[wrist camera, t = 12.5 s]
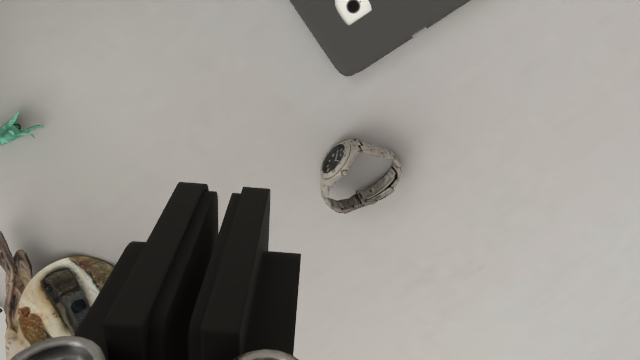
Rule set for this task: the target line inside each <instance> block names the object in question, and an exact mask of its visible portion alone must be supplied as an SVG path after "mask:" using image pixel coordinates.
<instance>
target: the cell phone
mask: <svg viewBox="0 0 640 360" xmlns="http://www.w3.org/2000/svg"><path fill="white" fill-rule="evenodd" d="M468 1H470V0H290V2H291V3H292V4H293V6H294V7H295V9H296V10H297V12H298V13H299V15H300V16H301V18H302V19H303V21H304V22H305V24H306V25H307V27H308V28H309V30H310V31H311V33H312V34H313V35H314V37H315V38H316V40H317V41H318V43H319V44H320V46H321V47H322V49H323V50H324V52H325V53H326V55H327V56H328V58H329V59H330V61H331V62H332V64H333V65H334V66H335V68H336V69H337V70H338V71H339V72H340V73H341V74H343V75H344V76H352V75H354V74H356V73H358V72H360V71H362V70H364V69H365V68H367V67H368V66H370V65H371V64H373V63H374V62H376V61H377V60H379V59H380V58H382V57H384V56H385V55H387V54H388V53H390V52H391V51H393V50H394V49H396V48H397V47H399V46H401V45H402V44H404V43H405V42H407V41H408V40H410V39H411V38H413V37H412V36H413V35H414V34H416V33H417V32H419V31H420V30H422V29H423V28H425V27H427V28H428V27H430V26H431V25H433V24H434V23H436V22H438V21H439V20H441V19H442V18H444V17H445V16H447V15H448V14H450V13H451V12H453V11H455V10H456V9H458V8H459V7H461V6H462V5H464V4H465V3H467V2H468Z"/></svg>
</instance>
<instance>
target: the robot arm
mask: <svg viewBox="0 0 640 360" xmlns="http://www.w3.org/2000/svg"><path fill="white" fill-rule="evenodd" d="M269 215H270V189H264V188H251V187H243V189H242V192H241V194H239V193H232V195H231V198H230V201H229V204H228V207H227V210H226V214H225V217H224V220H223V223H222V226H221V229H220V232H219V235H218V196H217V192H213V191H209V189H208V185H207V184H199V183H186V182H179V183H178V184H177V186H176V188H175V190H174V192H173V194H172V196H171V197H170V199H169V201H168V203H167V205H166V207H165V209H164V210H163V212H162V214H161V216H160V218H159V220H158V222H157V223H156V225H155V227H154V229H153V231H152V233H151V235H150V236H149V238H148V240H147V242H134V241H133V242H131V243H129V244H128V246H127V247H126V248H125V250H124V252H123V253H122V255H121V257H120V259H119V260H118V262H117V264H116V265H115V267H114V269H113V270H112V272H111V274H110V276H109V277H108V279H107V281H106V282H105V284H104V286H103V287H102V289H101V291H100V292H99V294H98V296H97V298H96V299H95V301H94V303H93V304H92V306H91V308H90V309H89V311H88V313H87V315H86V316H85V318H84V320H83V321H82V323H81V325H80V326H79V328H78V330H77V332H76V333H75V335H74V336H61V337H55V338H49V339H46V340H43V341H40V342H38V343H35V344H32V345H30V346H29V347H27V348H25V349H24V350H22V351H20V352H19V353H17V354H16V355H15V356H13V357H12V358H11V359H10V360H298V359H297V358H295V357H294V356H293V349H294V336H295V324H296V311H297V298H298V285H299V272H300V259H301V254H296V253H283V252H269V251H268V241H269Z"/></svg>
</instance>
